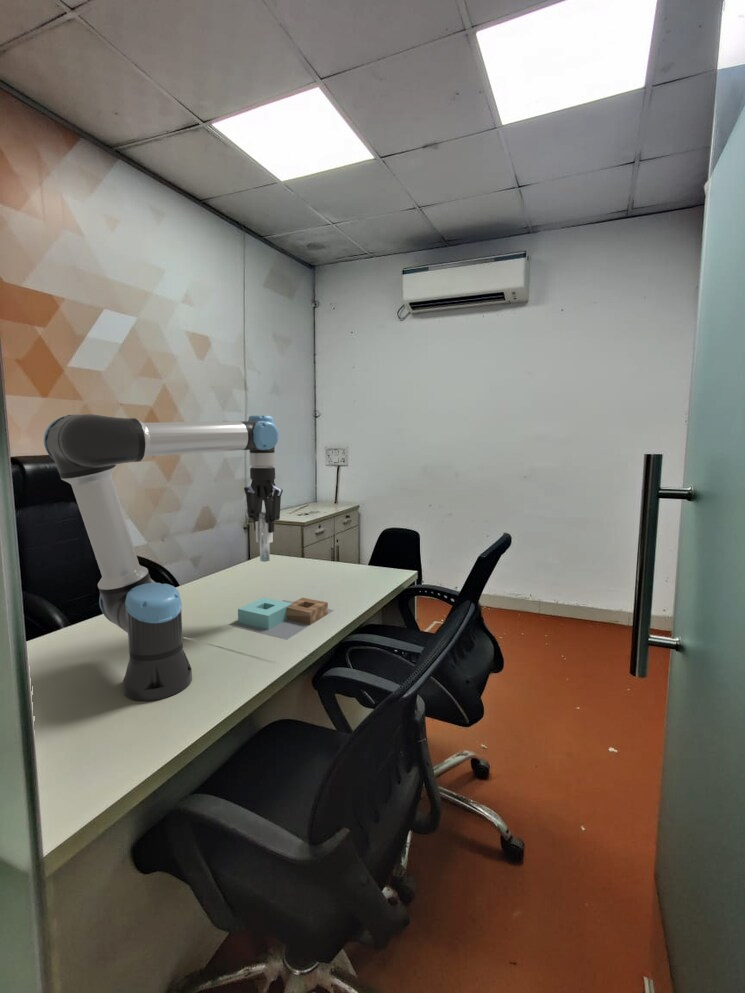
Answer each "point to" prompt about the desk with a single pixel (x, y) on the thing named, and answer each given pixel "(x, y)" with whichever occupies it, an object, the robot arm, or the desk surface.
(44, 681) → the desk surface
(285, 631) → the mat
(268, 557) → the pin
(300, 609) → the block
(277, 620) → the socket
